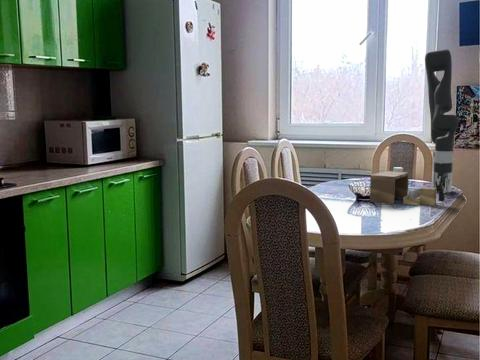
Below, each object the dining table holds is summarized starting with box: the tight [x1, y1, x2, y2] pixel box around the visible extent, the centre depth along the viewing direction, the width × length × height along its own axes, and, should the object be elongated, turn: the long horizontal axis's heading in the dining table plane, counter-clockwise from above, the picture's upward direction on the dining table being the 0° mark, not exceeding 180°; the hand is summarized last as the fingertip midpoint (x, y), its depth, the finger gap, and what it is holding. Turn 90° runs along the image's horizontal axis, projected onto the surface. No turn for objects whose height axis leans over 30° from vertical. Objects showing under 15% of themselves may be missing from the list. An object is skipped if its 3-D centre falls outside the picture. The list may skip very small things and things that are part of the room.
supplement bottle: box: [392, 166, 404, 172], centre depth 269 cm, size 7×7×13 cm
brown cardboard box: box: [369, 170, 410, 205], centre depth 250 cm, size 18×11×12 cm, turn 143°
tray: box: [402, 187, 438, 206], centre depth 242 cm, size 12×12×7 cm
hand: (441, 201), depth 237 cm, fingers closed
